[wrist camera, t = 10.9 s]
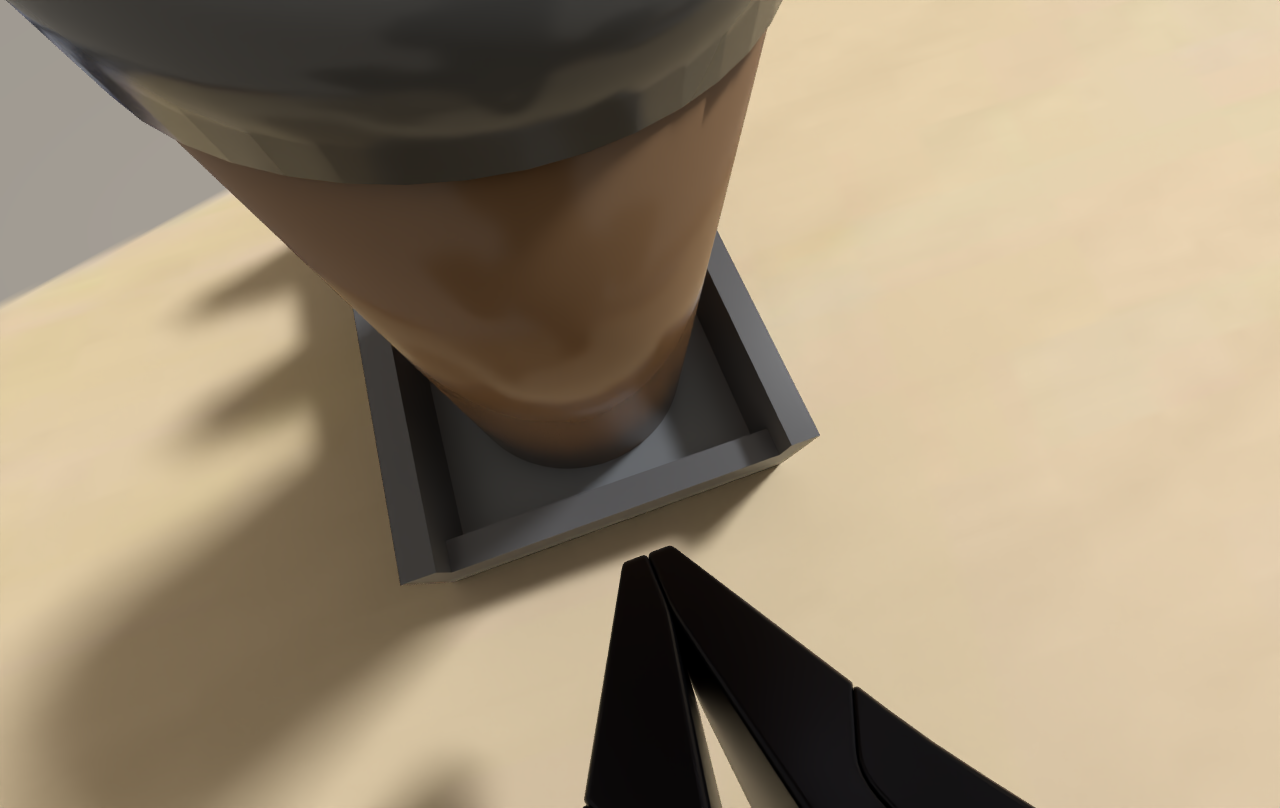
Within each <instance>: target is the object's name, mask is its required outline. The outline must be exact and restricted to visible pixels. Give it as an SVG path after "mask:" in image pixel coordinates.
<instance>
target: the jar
mask: <svg viewBox="0 0 1280 808" xmlns="http://www.w3.org/2000/svg"><path fill="white" fill-rule="evenodd" d="M6 1H7V2H8V3H10V4H11V5H12V6H13V7H14V8H15V9H16V10H17V11H18V12H19V13H21V14H22V15H23V16H24V17H25V18H26V19H27V20H28V21H29V22H31V24H33V25H34V26H35V27H36V28H37V29H38V30H39V31H40V32H41V33H42V34H43V35H45V36H46V37H47V38H48V39H49V40H50V41H51V42H52V43H53V44H54V45H56V46H57V47H58V48H59V49H60V50H61V51H62V52H63V53H64V54H65V55H66V56H68V57H69V58H70V59H71V60H72V61H73V62H74V63H75V64H76V65H77V66H78V67H80V68H81V69H82V70H83V71H84V72H85V73H86V74H87V75H88V76H89V77H91V78H92V79H93V80H94V81H95V82H96V83H97V84H98V85H99V86H100V87H101V88H103V89H104V90H105V91H106V92H107V93H108V94H109V95H110V96H112V97H113V98H114V99H115V100H117V101H118V102H119V103H120V104H122V105H123V106H124V107H125V108H127V109H128V110H129V111H130V112H131V113H133V114H134V115H135V116H136V117H138V118H139V119H140V120H141V121H143V122H145V123H146V124H148V125H150V126H152V127H154V128H155V129H157V130H159V131H161V132H163V133H164V134H166V135H168V136H170V137H171V138H173V139H175V140H176V141H177V142H178V143H179V144H180V145H181V146H182V147H183V148H185V150H187V151H188V152H189V153H190V154H191V155H192V156H193V157H194V158H195V159H196V160H197V161H198V162H199V163H200V164H201V165H203V167H205V168H206V169H207V170H208V171H209V172H210V173H211V174H212V175H213V176H214V177H215V178H216V179H217V180H218V181H219V182H220V183H221V184H222V185H223V186H225V187H226V188H227V189H228V190H229V191H230V192H231V193H232V194H233V195H234V196H235V197H236V198H237V199H238V200H239V201H240V202H241V203H243V204H244V205H245V206H246V207H247V208H248V209H249V210H250V211H251V212H252V213H253V214H254V215H255V216H256V217H257V218H258V219H259V220H260V221H262V222H263V223H264V224H265V225H266V226H267V227H268V228H269V229H270V230H271V231H272V232H273V233H274V234H275V235H276V236H277V237H278V238H279V239H281V240H282V241H283V242H284V243H285V244H286V245H287V246H288V247H289V248H290V249H291V250H292V251H293V252H294V253H295V254H296V255H297V256H299V257H300V258H301V259H302V260H303V261H304V262H305V263H306V264H307V265H308V266H309V267H310V268H311V269H312V270H313V271H314V272H315V273H316V274H318V275H319V276H320V277H321V278H322V279H323V280H324V281H325V282H326V283H327V284H328V285H329V286H330V287H331V288H332V289H333V290H334V291H335V292H337V293H338V294H339V295H340V296H341V297H342V298H343V299H344V300H345V301H346V302H347V303H348V304H349V305H350V306H351V307H352V308H353V309H354V310H356V311H357V312H358V313H359V314H360V315H361V316H362V317H363V318H364V319H365V320H366V321H367V322H368V323H369V324H370V325H371V326H372V327H374V328H375V329H376V330H377V331H378V332H379V333H380V334H381V335H382V336H383V337H384V338H385V339H386V340H387V341H388V342H389V343H390V344H391V345H393V346H394V347H395V348H396V349H397V350H398V351H399V352H400V353H401V354H402V355H403V356H404V357H405V358H406V359H407V360H408V361H409V362H410V363H412V364H413V365H414V366H415V367H416V368H417V369H418V370H419V371H420V372H421V373H422V374H423V375H424V376H425V377H426V378H427V379H428V380H430V381H431V382H432V383H433V384H434V385H435V386H436V387H437V388H438V389H439V390H440V391H441V392H442V393H443V394H444V395H445V396H446V397H447V398H449V399H450V400H451V401H452V402H453V403H454V404H455V405H456V406H457V407H458V408H459V409H460V410H461V411H462V412H463V413H464V414H465V415H466V416H468V417H469V418H470V419H471V420H472V421H473V422H474V423H475V424H476V425H477V426H478V427H479V428H480V429H481V430H482V431H483V432H484V433H486V434H487V435H488V436H489V437H490V438H491V439H492V440H493V441H494V442H495V443H497V444H498V445H499V446H500V447H501V448H503V449H504V450H506V451H507V452H509V453H511V454H512V455H514V456H516V457H518V458H520V459H523V460H525V461H527V462H530V463H533V464H537V465H540V466H545V467H551V468H559V469H575V468H584V467H590V466H595V465H599V464H603V463H606V462H608V461H611V460H613V459H616V458H618V457H620V456H622V455H624V454H626V453H627V452H629V451H631V450H632V449H634V448H635V447H637V446H638V445H639V444H641V443H642V442H643V441H644V440H645V439H647V438H648V437H649V436H650V435H651V434H652V433H653V432H654V431H655V429H656V428H657V427H658V426H659V424H660V423H661V422H662V421H663V419H664V417H665V416H666V414H667V412H668V411H669V409H670V407H671V404H672V402H673V400H674V397H675V394H676V390H677V387H678V383H679V379H680V375H681V371H682V367H683V363H684V359H685V355H686V351H687V347H688V343H689V339H690V335H691V331H692V327H693V323H694V319H695V315H696V311H697V307H698V303H699V299H700V295H701V291H702V287H703V283H704V279H705V275H706V271H707V267H708V263H709V259H710V255H711V251H712V247H713V243H714V239H715V235H716V231H717V227H718V223H719V219H720V215H721V211H722V207H723V203H724V199H725V195H726V191H727V187H728V183H729V179H730V175H731V171H732V167H733V163H734V159H735V155H736V151H737V147H738V143H739V139H740V135H741V131H742V127H743V123H744V119H745V115H746V111H747V107H748V103H749V99H750V95H751V91H752V87H753V83H754V79H755V75H756V71H757V67H758V63H759V59H760V55H761V51H762V47H763V43H764V39H765V35H766V31H767V28H768V27H769V25H770V24H771V22H772V20H773V18H774V16H775V14H776V12H777V10H778V8H779V6H780V4H781V2H782V0H6Z"/></svg>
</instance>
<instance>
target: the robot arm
mask: <svg viewBox="0 0 1280 808" xmlns="http://www.w3.org/2000/svg"><path fill="white" fill-rule="evenodd" d="M691 683H692V684H691ZM692 686H693V687H692ZM693 688H694V691H695V693H696V695H697V698H698V700H699V702H700V704H701V706H702V708H703V711H704V713H705V715H706V717H707V719H708V721H709V723H710V725H711V727H712V729H713V731H714V733H715V735H716V737H717V739H718V741H719V743H720V745H721V747H722V749H723V751H724V753H725V755H726V757H727V759H728V761H729V763H730V765H731V767H732V769H733V771H734V773H735V775H736V777H737V779H738V782H739V784H740V786H741V788H742V790H743V792H744V794H745V796H746V798H747V800H748V802H749V804H750V806H751V808H1035V807H1034V806H1032V805H1030V804H1029V803H1027V802H1026V801H1024V800H1022V799H1021V798H1019V797H1018V796H1016V795H1015V794H1013V793H1011V792H1010V791H1008V790H1007V789H1005V788H1003V787H1002V786H1000V785H999V784H997V783H995V782H994V781H992V780H991V779H989V778H988V777H986V776H985V775H983V774H981V773H980V772H978V771H977V770H975V769H974V768H972V767H971V766H969V765H968V764H966V763H965V762H963V761H962V760H960V759H959V758H957V757H955V756H954V755H952V754H951V753H949V752H948V751H946V750H945V749H943V748H942V747H940V746H939V745H937V744H936V743H934V742H933V741H931V740H930V739H929V738H927V737H926V736H924V735H923V734H922V733H920V732H919V731H917V730H916V729H915V728H913V727H912V726H910V725H909V724H908V723H906V722H905V721H904V720H902V719H901V718H899V717H898V716H897V715H895V714H894V713H892V712H891V711H890V710H888V709H887V708H886V707H884V706H883V705H882V704H880V703H879V702H878V701H876V700H875V699H874V698H872V697H871V696H870V695H869V694H867V693H866V692H865V691H863V690H862V689H861V688H859V687H854V688H853V684H852V682H851V681H850V680H848V679H847V678H846V677H844V676H843V675H842V674H840V673H839V672H838V671H837V670H835V669H834V668H833V667H831V666H830V665H829V664H827V663H826V662H825V661H823V660H822V659H821V658H819V657H818V656H817V655H815V654H814V653H813V652H812V651H810V650H809V649H808V648H806V647H805V646H804V645H802V644H801V643H800V642H798V641H797V640H796V639H794V638H793V637H792V636H790V635H789V634H788V633H786V632H785V631H784V630H783V629H781V628H780V627H779V626H777V625H776V624H775V623H773V622H772V621H771V620H769V619H768V618H767V617H765V616H764V615H763V614H761V613H760V612H759V611H758V610H756V609H755V608H754V607H752V606H751V605H750V604H748V603H747V602H746V601H744V600H743V599H742V598H740V597H739V596H738V595H736V594H735V593H734V592H733V591H731V590H730V589H729V588H727V587H726V586H725V585H723V584H722V583H721V582H719V581H718V580H717V579H715V578H714V577H713V576H711V575H710V574H709V573H707V572H706V571H705V570H704V569H702V568H701V567H700V566H698V565H697V564H696V563H694V562H693V561H692V560H690V559H689V558H688V557H686V556H685V555H684V554H682V553H681V552H680V551H679V550H677V549H676V548H674V547H673V546H667V547H664V548H661V549H659V550H656V551H653V552H651V553H650V554H649V558H648V557H647V556H645V555H643V556H640V557H637V558H634V559H632V560H629V561H627V562H625V563H624V564H623V566H622V571H621V577H620V583H619V589H618V595H617V601H616V608H615V614H614V620H613V626H612V632H611V638H610V644H609V650H608V656H607V663H606V669H605V675H604V681H603V687H602V693H601V699H600V705H599V711H598V718H597V724H596V730H595V736H594V742H593V748H592V754H591V760H590V767H589V773H588V779H587V785H586V791H585V797H584V801H585V803H586V806H584V807H583V808H722V805H721V801H720V796H719V792H718V788H717V784H716V780H715V775H714V771H713V767H712V763H711V759H710V755H709V750H708V746H707V742H706V738H705V734H704V730H703V725H702V721H701V717H700V713H699V709H698V705H697V702H696V698H695V694H694V691H693Z"/></svg>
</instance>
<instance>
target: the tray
mask: <svg viewBox="0 0 1280 808" xmlns="http://www.w3.org/2000/svg"><path fill="white" fill-rule="evenodd" d="M353 312H354V318H355V323H356V329H357V335H358V341H359V347H360V352H361V358H362V364H363V370H364V376H365V381H366V387H367V393H368V399H369V405H370V410H371V416H372V422H373V428H374V434H375V439H376V445H377V451H378V457H379V463H380V469H381V474H382V480H383V486H384V492H385V498H386V503H387V509H388V515H389V521H390V527H391V532H392V538H393V544H394V550H395V556H396V561H397V567H398V573H399V579H400V585H415V584H431V583H448V582H455V581H458V580H461V579H464V578H466V577H469V576H472V575H475V574H477V573H480V572H483V571H486V570H488V569H491V568H494V567H497V566H499V565H502V564H505V563H508V562H510V561H513V560H516V559H519V558H522V557H524V556H527V555H530V554H533V553H535V552H538V551H541V550H544V549H546V548H549V547H552V546H555V545H557V544H560V543H563V542H566V541H568V540H571V539H574V538H577V537H580V536H582V535H585V534H588V533H591V532H593V531H596V530H599V529H602V528H604V527H607V526H610V525H613V524H615V523H618V522H621V521H624V520H626V519H629V518H632V517H635V516H638V515H640V514H643V513H646V512H649V511H651V510H654V509H657V508H660V507H662V506H665V505H668V504H671V503H673V502H676V501H679V500H682V499H684V498H687V497H690V496H693V495H696V494H698V493H701V492H704V491H707V490H709V489H712V488H715V487H718V486H720V485H723V484H726V483H729V482H731V481H734V480H737V479H740V478H742V477H745V476H748V475H751V474H754V473H756V472H759V471H762V470H765V469H767V468H770V467H773V466H776V465H778V464H781V463H782V462H784V461H785V460H787V459H788V458H789V457H791V456H792V455H793V454H795V453H796V452H798V451H799V450H800V449H802V448H803V447H805V446H806V445H807V444H809V443H810V442H812V441H813V440H814V439H816V438H817V437H818V436H820V434H819V432H818V430H817V428H816V426H815V424H814V422H813V420H812V418H811V416H810V414H809V412H808V410H807V408H806V406H805V404H804V402H803V400H802V398H801V396H800V394H799V392H798V390H797V389H796V387H795V385H794V383H793V381H792V379H791V377H790V375H789V373H788V371H787V369H786V367H785V365H784V363H783V361H782V359H781V357H780V355H779V353H778V351H777V349H776V347H775V345H774V343H773V341H772V339H771V337H770V335H769V333H768V331H767V329H766V327H765V325H764V323H763V321H762V319H761V317H760V315H759V313H758V311H757V309H756V307H755V305H754V303H753V301H752V299H751V297H750V295H749V293H748V291H747V289H746V287H745V285H744V283H743V281H742V279H741V277H740V275H739V273H738V271H737V269H736V267H735V265H734V263H733V261H732V259H731V257H730V255H729V253H728V251H727V249H726V247H725V245H724V243H723V241H722V239H721V237H720V235H719V233H718V231H716V235H715V239H714V243H713V247H712V251H711V255H710V259H709V263H708V267H707V271H706V275H705V279H704V283H703V287H702V291H701V295H700V299H699V303H698V307H697V311H696V315H695V319H694V323H693V327H692V331H691V335H690V339H689V343H688V347H687V351H686V355H685V359H684V363H683V367H682V371H681V375H680V379H679V383H678V387H677V390H676V394H675V397H674V400H673V402H672V404H671V407H670V409H669V411H668V412H667V414H666V416H665V417H664V419H663V421H662V422H661V423H660V424H659V426H658V427H657V428H656V429H655V431H654V432H653V433H652V434H651V435H650V436H649V437H648V438H647V439H645V440H644V441H643V442H642V443H641V444H639V445H638V446H637V447H635V448H634V449H632V450H631V451H629V452H627V453H626V454H624V455H622V456H620V457H618V458H616V459H613V460H611V461H608V462H606V463H603V464H599V465H595V466H590V467H584V468H575V469H559V468H551V467H545V466H540V465H537V464H533V463H530V462H527V461H525V460H523V459H520V458H518V457H516V456H514V455H512V454H511V453H509V452H507V451H506V450H504V449H503V448H501V447H500V446H499V445H498V444H497V443H495V442H494V441H493V440H492V439H491V438H490V437H489V436H488V435H487V434H486V433H484V432H483V431H482V430H481V429H480V428H479V427H478V426H477V425H476V424H475V423H474V422H473V421H472V420H471V419H470V418H469V417H468V416H466V415H465V414H464V413H463V412H462V411H461V410H460V409H459V408H458V407H457V406H456V405H455V404H454V403H453V402H452V401H451V400H450V399H449V398H447V397H446V396H445V395H444V394H443V393H442V392H441V391H440V390H439V389H438V388H437V387H436V386H435V385H434V384H433V383H432V382H431V381H430V380H428V379H427V378H426V377H425V376H424V375H423V374H422V373H421V372H420V371H419V370H418V369H417V368H416V367H415V366H414V365H413V364H412V363H410V362H409V361H408V360H407V359H406V358H405V357H404V356H403V355H402V354H401V353H400V352H399V351H398V350H397V349H396V348H395V347H394V346H393V345H391V344H390V343H389V342H388V341H387V340H386V339H385V338H384V337H383V336H382V335H381V334H380V333H379V332H378V331H377V330H376V329H375V328H374V327H372V326H371V325H370V324H369V323H368V322H367V321H366V320H365V319H364V318H363V317H362V316H361V315H360V314H359V313H358V312H357V311H356V310H354V309H353Z"/></svg>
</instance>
